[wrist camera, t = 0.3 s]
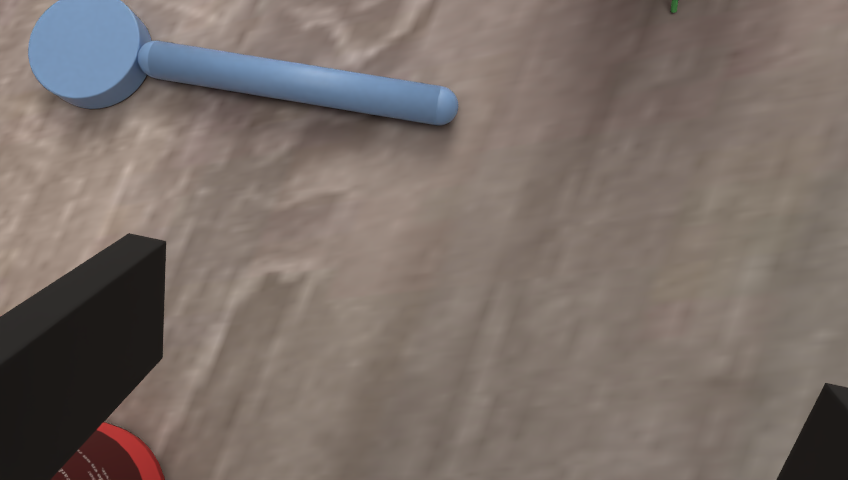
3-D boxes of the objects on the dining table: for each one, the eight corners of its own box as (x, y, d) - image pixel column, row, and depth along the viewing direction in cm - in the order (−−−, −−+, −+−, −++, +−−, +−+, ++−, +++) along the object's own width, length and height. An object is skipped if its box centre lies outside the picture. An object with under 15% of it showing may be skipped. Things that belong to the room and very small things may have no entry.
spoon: (468, 62, 31) (468, 44, 29) (447, 171, 30) (446, 159, 28) (63, -2, 33) (41, -22, 31) (32, 99, 32) (7, 85, 30)
